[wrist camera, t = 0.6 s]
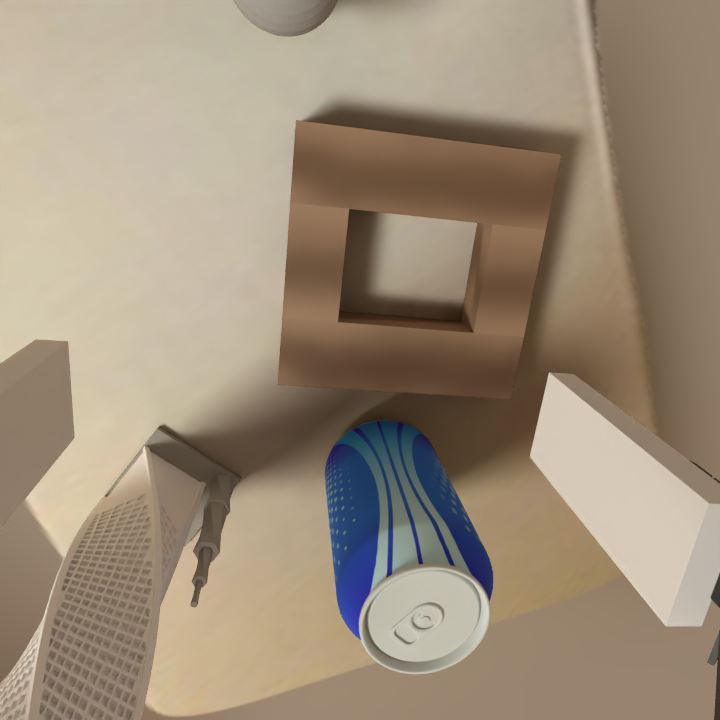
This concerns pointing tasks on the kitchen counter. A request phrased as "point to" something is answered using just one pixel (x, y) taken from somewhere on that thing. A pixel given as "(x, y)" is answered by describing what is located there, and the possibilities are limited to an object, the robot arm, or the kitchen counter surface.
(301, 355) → the holder
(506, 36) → the kitchen counter surface
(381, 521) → the beer can
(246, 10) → the light bulb
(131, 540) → the skyscraper
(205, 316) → the kitchen counter surface
